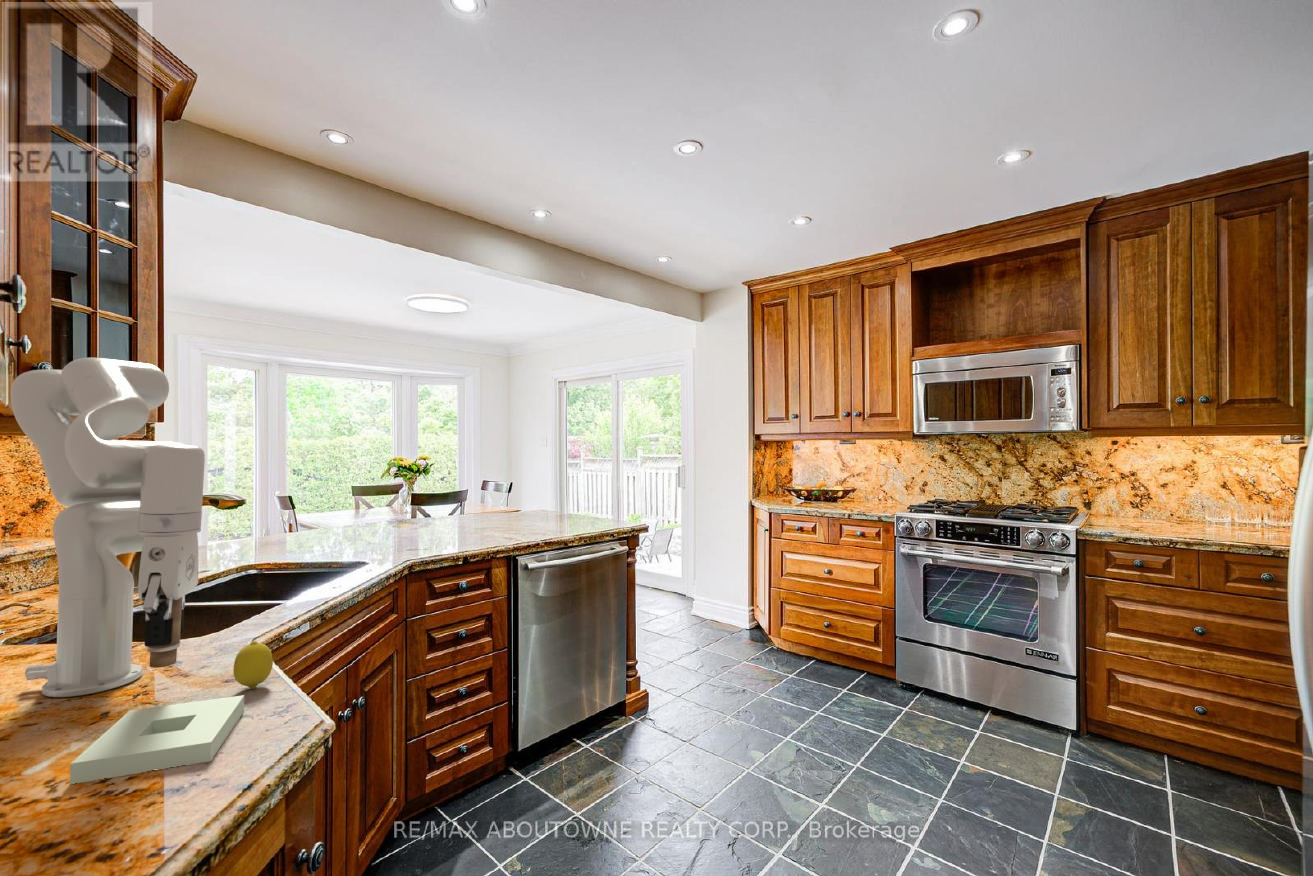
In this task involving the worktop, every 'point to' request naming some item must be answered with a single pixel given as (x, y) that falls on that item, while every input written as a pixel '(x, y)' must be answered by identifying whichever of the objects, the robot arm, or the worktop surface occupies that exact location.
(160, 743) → the board
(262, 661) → the lemon
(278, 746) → the worktop surface
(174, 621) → the peg
